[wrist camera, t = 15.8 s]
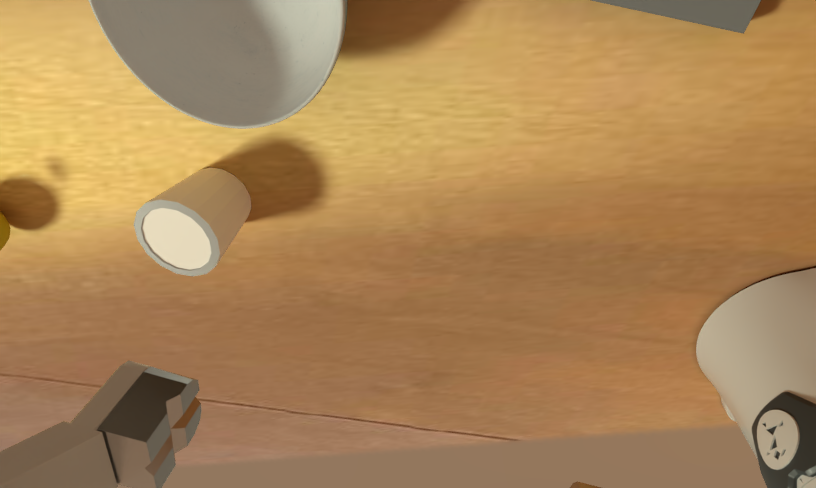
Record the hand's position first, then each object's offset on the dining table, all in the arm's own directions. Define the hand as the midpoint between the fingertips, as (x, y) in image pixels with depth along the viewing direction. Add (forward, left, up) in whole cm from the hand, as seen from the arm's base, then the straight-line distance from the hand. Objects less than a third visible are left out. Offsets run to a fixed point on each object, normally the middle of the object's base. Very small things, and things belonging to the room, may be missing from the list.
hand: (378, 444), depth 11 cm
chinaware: (+15, -3, -29) cm, 33 cm away
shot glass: (+19, +15, -29) cm, 38 cm away
